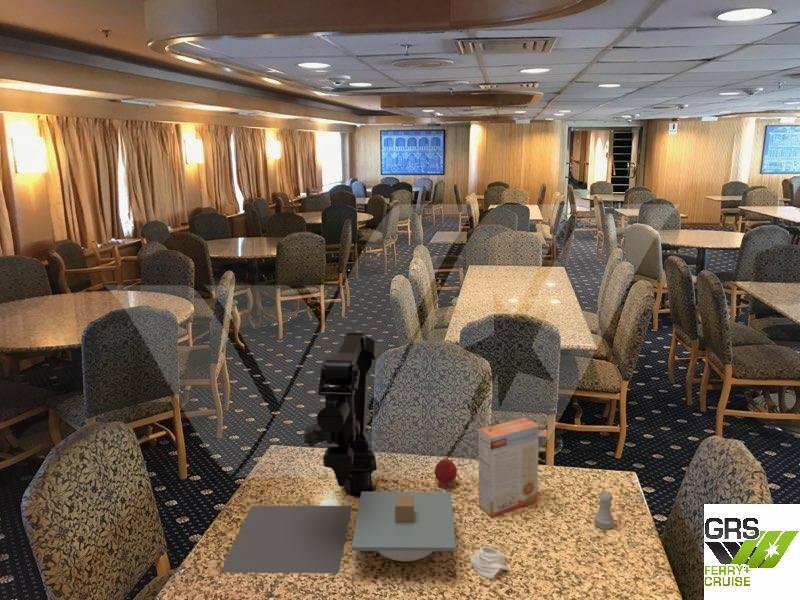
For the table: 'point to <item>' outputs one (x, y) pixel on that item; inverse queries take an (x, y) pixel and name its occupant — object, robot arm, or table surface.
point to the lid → (404, 522)
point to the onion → (445, 471)
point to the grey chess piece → (604, 511)
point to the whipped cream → (488, 562)
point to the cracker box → (508, 465)
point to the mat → (290, 540)
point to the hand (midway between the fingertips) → (344, 475)
